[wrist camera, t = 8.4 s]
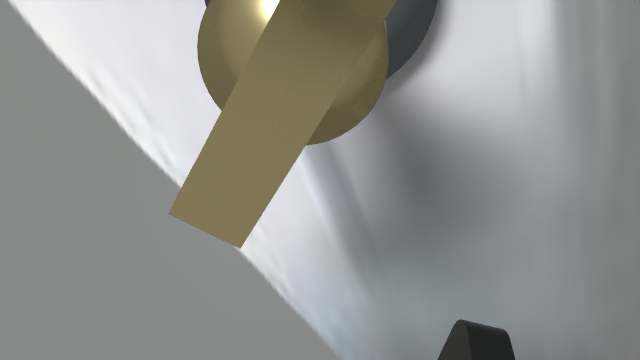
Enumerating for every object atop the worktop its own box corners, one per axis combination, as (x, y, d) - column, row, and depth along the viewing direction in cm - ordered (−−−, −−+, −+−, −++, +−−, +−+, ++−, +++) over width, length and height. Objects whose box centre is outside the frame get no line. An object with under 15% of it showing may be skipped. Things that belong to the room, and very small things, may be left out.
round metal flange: (471, -113, 27) (514, -95, 19) (396, 110, 33) (404, 196, 25) (226, -181, 27) (162, -193, 18) (196, 59, 33) (137, 130, 24)
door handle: (281, -131, 19) (234, -119, 12) (441, -29, 20) (474, 31, 14) (166, 117, 24) (90, 219, 17) (300, 187, 25) (275, 306, 19)
